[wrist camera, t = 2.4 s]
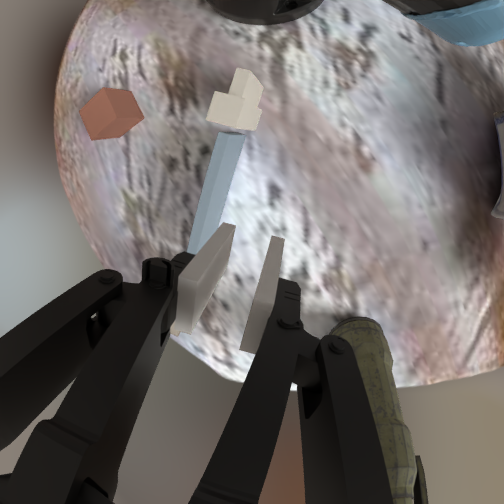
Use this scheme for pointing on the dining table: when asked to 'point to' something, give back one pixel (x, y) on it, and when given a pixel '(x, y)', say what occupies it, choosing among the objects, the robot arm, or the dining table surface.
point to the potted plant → (500, 210)
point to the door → (215, 188)
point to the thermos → (385, 408)
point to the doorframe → (236, 110)
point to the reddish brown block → (110, 114)
